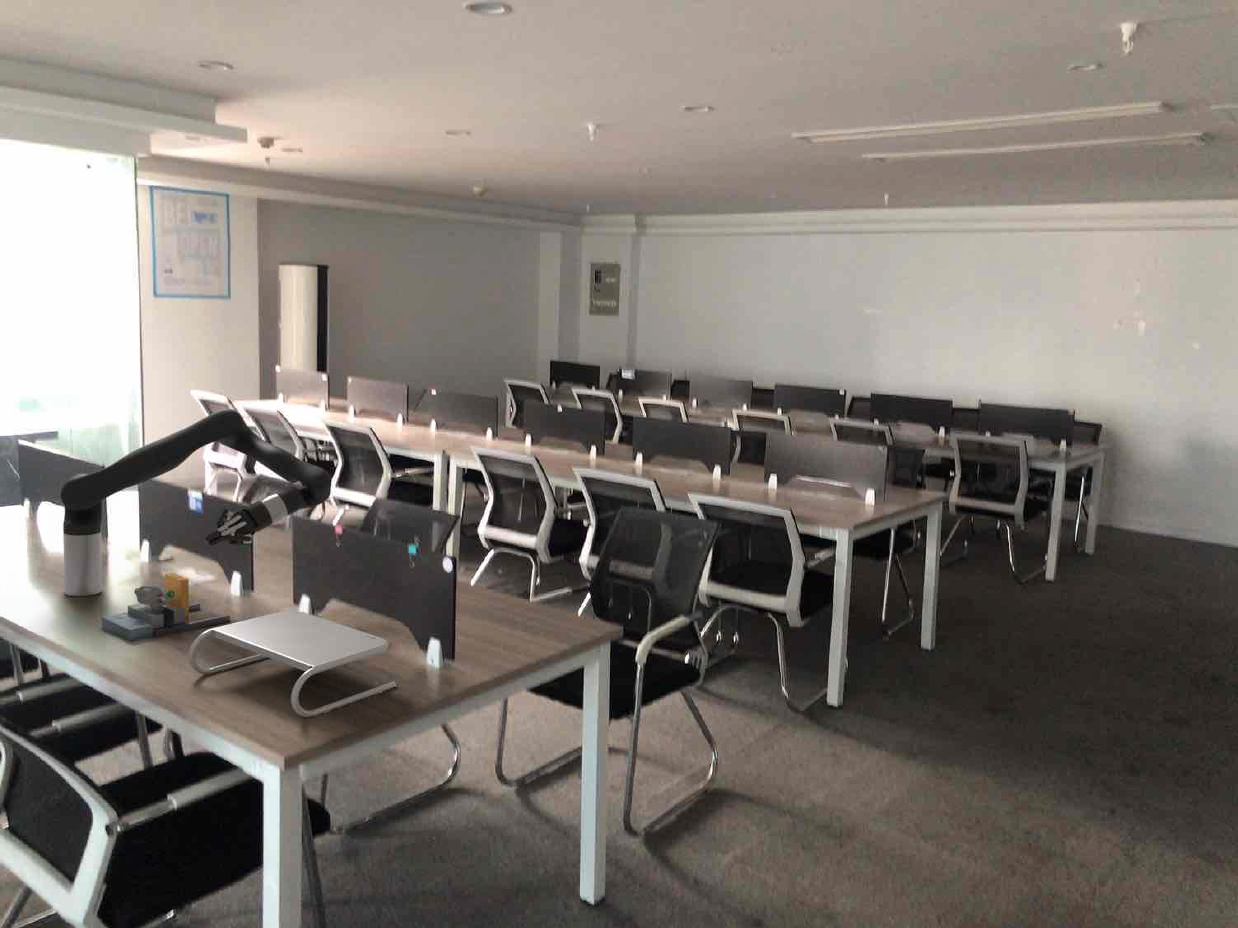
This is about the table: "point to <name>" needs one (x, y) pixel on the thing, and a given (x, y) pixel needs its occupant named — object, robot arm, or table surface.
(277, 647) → the monitor stand
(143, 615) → the vise body
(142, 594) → the mechanical component
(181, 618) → the free jaw
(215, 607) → the table surface
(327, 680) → the table surface
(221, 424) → the robot arm
